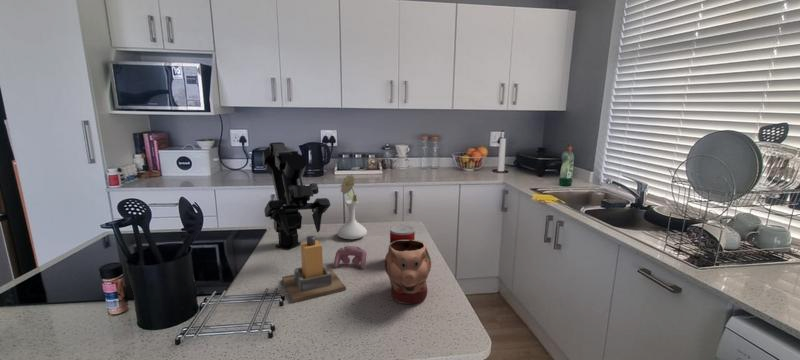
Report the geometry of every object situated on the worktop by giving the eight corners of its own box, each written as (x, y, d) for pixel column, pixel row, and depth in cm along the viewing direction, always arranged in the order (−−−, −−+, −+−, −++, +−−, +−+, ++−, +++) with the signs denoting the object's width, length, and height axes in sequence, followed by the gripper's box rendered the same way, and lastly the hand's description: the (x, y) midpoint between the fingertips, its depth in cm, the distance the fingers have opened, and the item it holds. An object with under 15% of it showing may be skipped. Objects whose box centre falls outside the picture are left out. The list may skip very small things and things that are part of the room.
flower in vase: (336, 232, 142) (334, 170, 137) (364, 230, 145) (363, 169, 140) (338, 244, 130) (336, 176, 125) (370, 242, 132) (369, 175, 128)
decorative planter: (381, 277, 105) (380, 231, 103) (422, 274, 107) (422, 229, 104) (389, 315, 86) (389, 260, 83) (439, 311, 88) (440, 257, 85)
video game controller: (366, 269, 114) (368, 247, 116) (364, 269, 109) (365, 245, 111) (335, 268, 115) (337, 245, 116) (332, 267, 110) (334, 244, 112)
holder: (282, 280, 103) (281, 267, 102) (329, 270, 110) (329, 257, 109) (293, 303, 91) (292, 288, 90) (345, 290, 98) (345, 276, 97)
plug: (302, 280, 101) (300, 236, 98) (318, 276, 103) (316, 233, 101) (306, 287, 97) (304, 241, 94) (323, 283, 99) (321, 238, 97)
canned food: (417, 258, 118) (417, 226, 116) (409, 268, 111) (410, 234, 109) (395, 255, 121) (395, 223, 119) (386, 264, 114) (386, 231, 111)
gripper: (270, 173, 101) (279, 224, 95) (331, 173, 112) (343, 219, 106) (260, 192, 109) (268, 240, 103) (318, 190, 120) (329, 234, 114)
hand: (303, 233), depth 106 cm, fingers open, 9 cm apart
